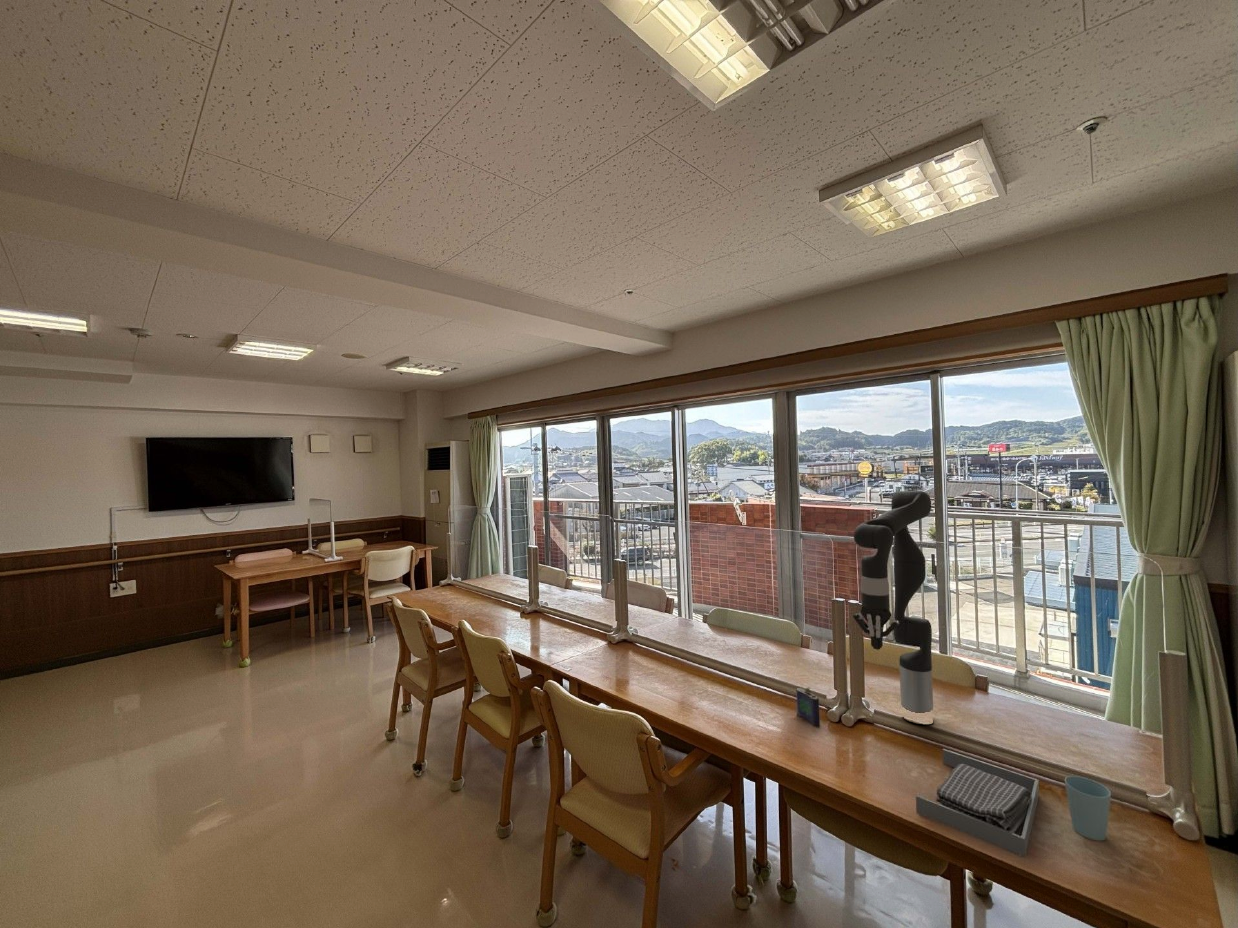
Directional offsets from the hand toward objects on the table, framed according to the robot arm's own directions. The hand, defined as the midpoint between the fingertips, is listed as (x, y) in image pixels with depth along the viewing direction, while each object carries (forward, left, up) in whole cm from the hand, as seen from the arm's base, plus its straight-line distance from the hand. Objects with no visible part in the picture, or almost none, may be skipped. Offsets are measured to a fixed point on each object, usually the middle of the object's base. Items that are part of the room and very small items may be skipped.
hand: (876, 648), depth 150 cm
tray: (+11, +26, -29) cm, 41 cm away
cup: (+6, +46, -29) cm, 55 cm away
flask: (0, -22, -29) cm, 37 cm away
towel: (+15, +28, -30) cm, 43 cm away
